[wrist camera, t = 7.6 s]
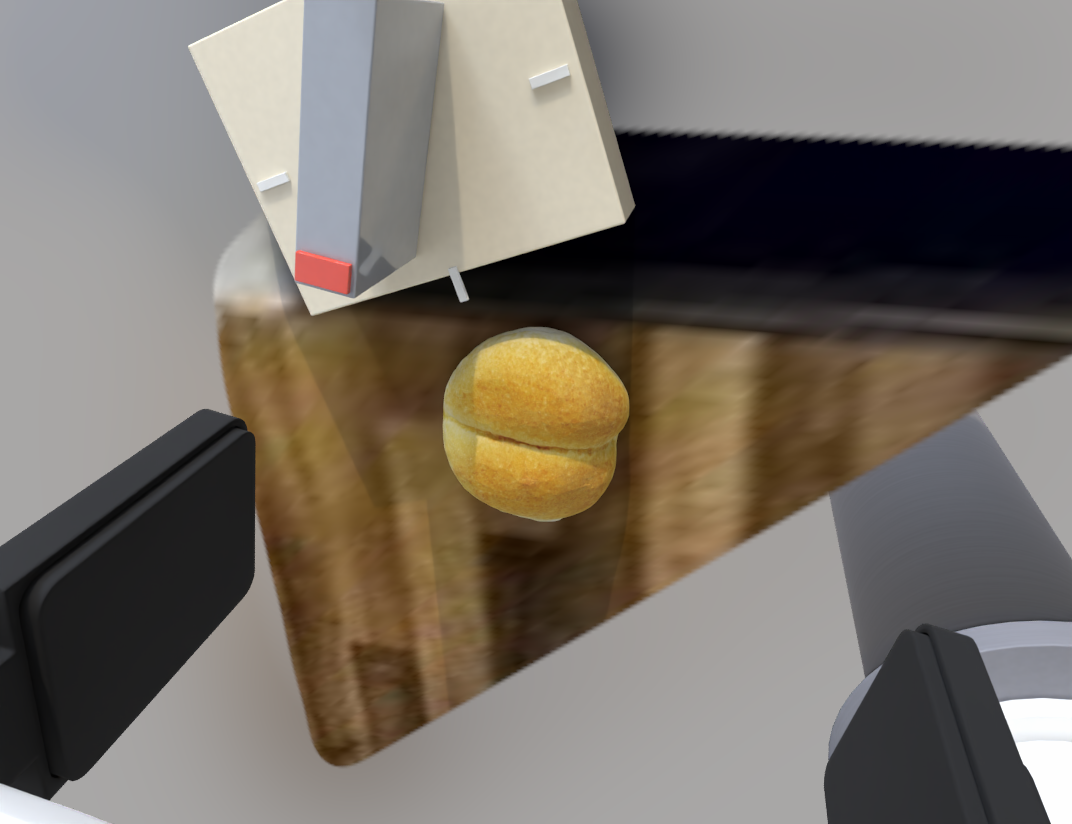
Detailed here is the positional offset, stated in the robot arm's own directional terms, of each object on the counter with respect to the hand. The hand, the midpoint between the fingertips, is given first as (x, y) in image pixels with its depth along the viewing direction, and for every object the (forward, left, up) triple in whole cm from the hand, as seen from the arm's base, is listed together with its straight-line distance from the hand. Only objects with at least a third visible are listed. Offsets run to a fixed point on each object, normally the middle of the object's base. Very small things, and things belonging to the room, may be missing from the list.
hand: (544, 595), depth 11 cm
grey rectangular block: (+8, -7, -19) cm, 22 cm away
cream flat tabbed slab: (+8, -7, -22) cm, 25 cm away
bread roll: (+8, +6, -22) cm, 25 cm away
